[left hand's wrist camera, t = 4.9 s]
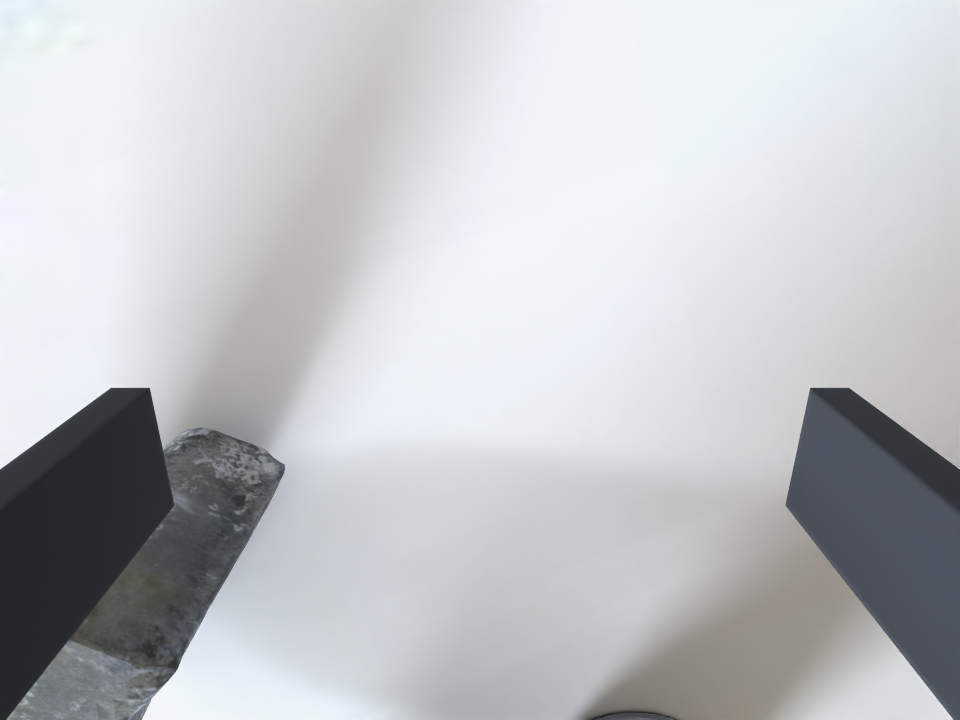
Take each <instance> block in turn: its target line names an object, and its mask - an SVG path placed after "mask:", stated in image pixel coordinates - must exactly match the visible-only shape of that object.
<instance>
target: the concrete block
mask: <svg viewBox="0 0 960 720" xmlns="http://www.w3.org/2000/svg"><path fill="white" fill-rule="evenodd" d="M163 453H164V458H165V463H166V467H167V472H168V477H169V482H170V486H171V491H172V496H173V501H174V507H173V508H172V509H171V511H170V512H169V513H168V514H167V516H166V517H165V518H164V519H163V521H162V522H161V523H160V525H159V526H158V527H157V528H156V530H155V531H154V532H153V533H152V535H151V536H150V537H149V539H148V540H147V541H146V542H145V544H144V545H143V546H142V547H141V549H140V550H139V551H138V553H137V554H136V555H135V556H134V558H133V559H132V560H131V561H130V563H129V564H128V565H127V567H126V568H125V569H124V570H123V572H122V573H121V574H120V575H119V577H118V578H117V579H116V581H115V582H114V583H113V584H112V586H111V587H110V588H109V589H108V591H107V592H106V593H105V595H104V596H103V597H102V598H101V600H100V601H99V602H98V603H97V605H96V606H95V607H94V609H93V610H92V611H91V612H90V614H89V615H88V616H87V617H86V619H85V620H84V621H83V623H82V624H81V625H80V626H79V628H78V629H77V630H76V631H75V633H74V634H73V635H72V637H71V638H70V639H69V640H68V642H67V643H66V644H65V645H64V647H63V648H62V649H61V651H60V652H59V653H58V654H57V656H56V657H55V658H54V659H53V661H52V662H51V663H50V665H49V666H48V667H47V668H46V670H45V671H44V672H43V673H42V675H41V676H40V677H39V679H38V680H37V681H36V682H35V684H34V685H33V686H32V688H31V689H30V690H29V691H28V693H27V694H26V695H25V696H24V698H23V699H22V700H21V702H20V703H19V704H18V705H17V707H16V708H15V709H14V710H13V712H12V713H11V714H10V716H9V717H8V718H7V719H6V720H142V718H143V716H144V714H145V711H146V709H147V707H148V705H149V703H150V701H151V699H152V697H153V696H154V695H155V694H156V693H157V692H158V691H159V690H160V689H161V688H162V687H163V686H164V685H165V683H166V682H167V681H168V680H169V679H170V678H171V677H172V676H173V675H174V673H175V672H176V670H177V669H178V666H179V664H180V661H181V659H182V656H183V655H184V653H185V651H186V649H187V648H188V646H189V644H190V642H191V640H192V639H193V637H194V635H195V633H196V631H197V629H198V628H199V626H200V624H201V622H202V620H203V618H204V616H205V614H206V612H207V610H208V608H209V607H210V605H211V603H212V602H213V600H214V598H215V597H216V595H217V593H218V592H219V590H220V588H221V587H222V585H223V583H224V582H225V580H226V578H227V577H228V575H229V573H230V571H231V570H232V568H233V566H234V564H235V563H236V561H237V559H238V557H239V556H240V554H241V552H242V551H243V549H244V547H245V546H246V544H247V542H248V540H249V539H250V537H251V535H252V533H253V531H254V530H255V528H256V526H257V524H258V522H259V520H260V519H261V517H262V515H263V513H264V511H265V510H266V508H267V506H268V505H269V503H270V501H271V499H272V497H273V495H274V493H275V491H276V489H277V487H278V485H279V482H280V480H281V478H282V476H283V474H284V470H285V465H284V464H282V463H280V462H279V461H277V460H276V459H275V458H273V457H272V456H271V455H270V454H269V453H268V451H266V450H264V449H262V448H260V447H258V446H255V445H252V444H249V443H246V442H244V441H241V440H238V439H236V438H233V437H230V436H228V435H225V434H223V433H220V432H217V431H215V430H212V429H207V428H197V429H190V430H187V431H184V432H182V433H181V434H180V435H179V436H178V437H177V438H176V439H174V440H173V441H172V442H171V443H170V444H169V445H168V446H167V447H165V448H164V449H163Z"/></svg>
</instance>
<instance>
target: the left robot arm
mask: <svg viewBox="0 0 960 720" xmlns="http://www.w3.org/2000/svg"><path fill="white" fill-rule="evenodd" d="M173 507H174V501H173V496H172V491H171V486H170V482H169V477H168V472H167V467H166V463H165V458H164V453H163V449H162V444H161V439H160V434H159V430H158V425H157V420H156V415H155V411H154V406H153V401H152V397H151V392H150V388H110V389H109V390H108V391H106V392H105V393H104V394H102V395H101V396H100V397H98V398H97V399H96V400H94V401H93V402H91V403H90V404H89V405H87V406H86V407H85V408H83V409H82V410H81V411H79V412H78V413H76V414H75V415H74V416H72V417H71V418H70V419H68V420H67V421H66V422H64V423H63V424H62V425H60V426H59V427H57V428H56V429H55V430H53V431H52V432H51V433H49V434H48V435H47V436H45V437H44V438H43V439H41V440H40V441H38V442H37V443H36V444H34V445H33V446H32V447H30V448H29V449H28V450H26V451H25V452H24V453H22V454H21V455H19V456H18V457H17V458H15V459H14V460H13V461H11V462H10V463H9V464H7V465H6V466H5V467H3V468H2V469H0V720H6V719H7V718H8V717H9V716H10V714H11V713H12V712H13V710H14V709H15V708H16V707H17V705H18V704H19V703H20V702H21V700H22V699H23V698H24V696H25V695H26V694H27V693H28V691H29V690H30V689H31V688H32V686H33V685H34V684H35V682H36V681H37V680H38V679H39V677H40V676H41V675H42V673H43V672H44V671H45V670H46V668H47V667H48V666H49V665H50V663H51V662H52V661H53V659H54V658H55V657H56V656H57V654H58V653H59V652H60V651H61V649H62V648H63V647H64V645H65V644H66V643H67V642H68V640H69V639H70V638H71V637H72V635H73V634H74V633H75V631H76V630H77V629H78V628H79V626H80V625H81V624H82V623H83V621H84V620H85V619H86V617H87V616H88V615H89V614H90V612H91V611H92V610H93V609H94V607H95V606H96V605H97V603H98V602H99V601H100V600H101V598H102V597H103V596H104V595H105V593H106V592H107V591H108V589H109V588H110V587H111V586H112V584H113V583H114V582H115V581H116V579H117V578H118V577H119V575H120V574H121V573H122V572H123V570H124V569H125V568H126V567H127V565H128V564H129V563H130V561H131V560H132V559H133V558H134V556H135V555H136V554H137V553H138V551H139V550H140V549H141V547H142V546H143V545H144V544H145V542H146V541H147V540H148V539H149V537H150V536H151V535H152V533H153V532H154V531H155V530H156V528H157V527H158V526H159V525H160V523H161V522H162V521H163V519H164V518H165V517H166V516H167V514H168V513H169V512H170V511H171V509H172V508H173ZM786 507H787V508H788V509H789V511H790V512H791V513H792V514H793V516H794V517H795V518H796V519H797V521H798V522H799V523H800V525H801V526H802V527H803V528H804V530H805V531H806V532H807V533H808V535H809V536H810V537H811V539H812V540H813V541H814V542H815V544H816V545H817V546H818V547H819V549H820V550H821V551H822V553H823V554H824V555H825V556H826V558H827V559H828V560H829V561H830V563H831V564H832V565H833V567H834V568H835V569H836V570H837V572H838V573H839V574H840V575H841V577H842V578H843V579H844V581H845V582H846V583H847V584H848V586H849V587H850V588H851V589H852V591H853V592H854V593H855V595H856V596H857V597H858V598H859V600H860V601H861V602H862V603H863V605H864V606H865V607H866V609H867V610H868V611H869V612H870V614H871V615H872V616H873V617H874V619H875V620H876V621H877V623H878V624H879V625H880V626H881V628H882V629H883V630H884V631H885V633H886V634H887V635H888V637H889V638H890V639H891V640H892V642H893V643H894V644H895V645H896V647H897V648H898V649H899V651H900V652H901V653H902V654H903V656H904V657H905V658H906V659H907V661H908V662H909V663H910V665H911V666H912V667H913V668H914V670H915V671H916V672H917V673H918V675H919V676H920V677H921V679H922V680H923V681H924V682H925V684H926V685H927V686H928V688H929V689H930V690H931V691H932V693H933V694H934V695H935V696H936V698H937V699H938V700H939V702H940V703H941V704H942V705H943V707H944V708H945V709H946V710H947V712H948V713H949V714H950V716H951V717H952V718H953V719H954V720H960V469H958V468H957V467H955V466H954V465H953V464H951V463H950V462H949V461H947V460H946V459H945V458H943V457H942V456H941V455H939V454H938V453H936V452H935V451H934V450H932V449H931V448H930V447H928V446H927V445H926V444H924V443H923V442H922V441H920V440H919V439H917V438H916V437H915V436H913V435H912V434H911V433H909V432H908V431H907V430H905V429H904V428H903V427H901V426H900V425H898V424H897V423H896V422H894V421H893V420H892V419H890V418H889V417H888V416H886V415H885V414H884V413H882V412H881V411H879V410H878V409H877V408H875V407H874V406H873V405H871V404H870V403H869V402H867V401H866V400H864V399H863V398H862V397H860V396H859V395H858V394H856V393H855V392H854V391H852V390H851V389H850V388H810V392H809V397H808V401H807V406H806V411H805V415H804V420H803V425H802V430H801V434H800V439H799V444H798V449H797V453H796V458H795V463H794V467H793V472H792V477H791V482H790V486H789V491H788V496H787V501H786ZM594 720H674V719H671V718H668V717H665V716H661V715H656V714H650V713H620V714H613V715H608V716H604V717H600V718H597V719H594Z"/></svg>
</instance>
